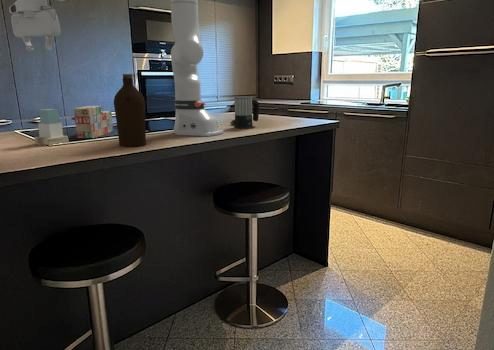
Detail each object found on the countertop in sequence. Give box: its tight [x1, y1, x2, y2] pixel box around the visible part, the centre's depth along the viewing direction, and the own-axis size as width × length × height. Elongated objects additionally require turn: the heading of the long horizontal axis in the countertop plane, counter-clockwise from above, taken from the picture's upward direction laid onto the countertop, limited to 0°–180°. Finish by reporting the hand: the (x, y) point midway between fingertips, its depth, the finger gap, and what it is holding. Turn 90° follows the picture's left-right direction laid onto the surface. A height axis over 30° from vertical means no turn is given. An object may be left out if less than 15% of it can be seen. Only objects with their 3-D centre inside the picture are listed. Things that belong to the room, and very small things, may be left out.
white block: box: [37, 122, 64, 138], centre depth 136 cm, size 6×6×5 cm
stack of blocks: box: [73, 105, 115, 139], centre depth 156 cm, size 21×6×12 cm, turn 177°
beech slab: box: [34, 134, 70, 147], centre depth 137 cm, size 8×8×3 cm
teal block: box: [38, 108, 61, 124], centre depth 135 cm, size 4×4×5 cm
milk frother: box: [230, 96, 260, 129], centre depth 182 cm, size 14×16×15 cm
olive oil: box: [113, 73, 147, 148], centre depth 131 cm, size 11×11×25 cm
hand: (39, 50), depth 128 cm, fingers open, 8 cm apart
